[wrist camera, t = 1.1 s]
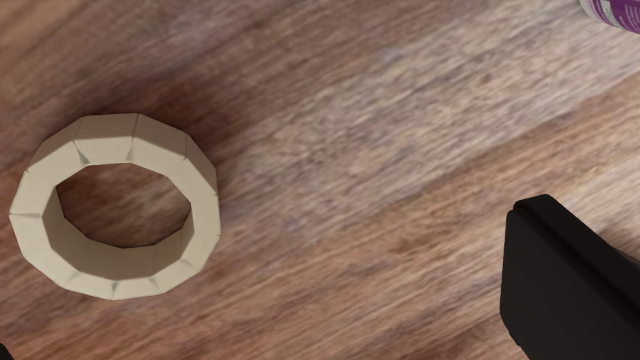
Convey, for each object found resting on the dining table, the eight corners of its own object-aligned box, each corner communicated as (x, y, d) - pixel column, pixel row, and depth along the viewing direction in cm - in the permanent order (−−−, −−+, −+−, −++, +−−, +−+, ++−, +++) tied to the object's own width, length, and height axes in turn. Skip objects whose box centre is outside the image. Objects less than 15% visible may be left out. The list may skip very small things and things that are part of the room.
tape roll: (65, 81, 20) (50, 102, 18) (247, 157, 24) (252, 182, 22) (4, 235, 23) (-14, 269, 21) (176, 283, 27) (174, 316, 25)
